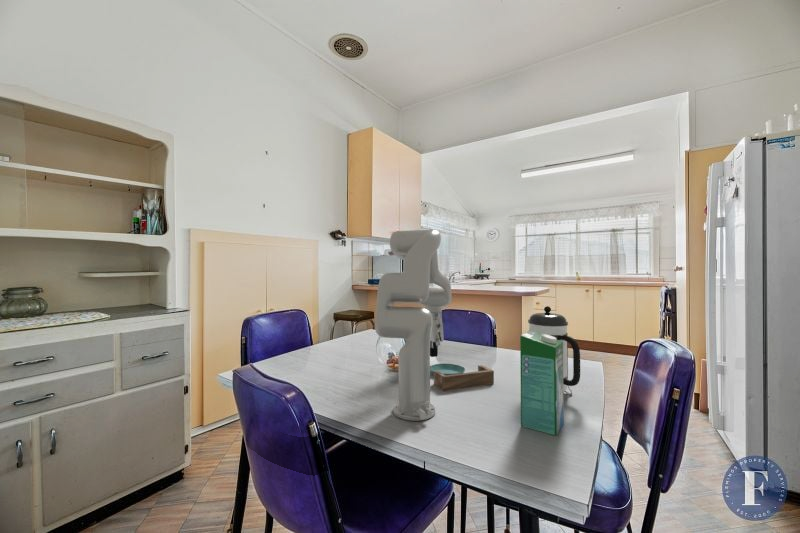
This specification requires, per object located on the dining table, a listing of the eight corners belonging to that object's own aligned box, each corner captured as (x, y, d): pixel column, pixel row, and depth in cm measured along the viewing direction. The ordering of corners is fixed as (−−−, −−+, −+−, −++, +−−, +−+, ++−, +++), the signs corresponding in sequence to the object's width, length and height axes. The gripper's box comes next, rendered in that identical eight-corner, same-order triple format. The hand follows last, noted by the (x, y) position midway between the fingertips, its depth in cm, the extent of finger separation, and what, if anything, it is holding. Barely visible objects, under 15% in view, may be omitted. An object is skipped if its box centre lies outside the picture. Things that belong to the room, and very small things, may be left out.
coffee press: (522, 396, 112) (521, 307, 112) (528, 382, 126) (527, 303, 126) (580, 406, 104) (579, 310, 104) (579, 389, 118) (579, 305, 118)
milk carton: (556, 436, 85) (555, 338, 85) (520, 426, 91) (520, 334, 91) (563, 423, 92) (563, 333, 93) (530, 414, 98) (529, 329, 98)
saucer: (472, 376, 134) (472, 370, 134) (443, 382, 126) (443, 376, 126) (450, 367, 146) (450, 361, 146) (422, 372, 139) (422, 366, 139)
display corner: (493, 384, 124) (493, 370, 124) (444, 391, 117) (443, 377, 117) (481, 377, 132) (481, 364, 132) (433, 384, 124) (433, 370, 124)
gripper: (448, 317, 143) (449, 359, 143) (433, 312, 157) (433, 351, 157) (433, 318, 140) (433, 361, 140) (419, 313, 154) (419, 352, 154)
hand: (433, 356), depth 149 cm, fingers closed
